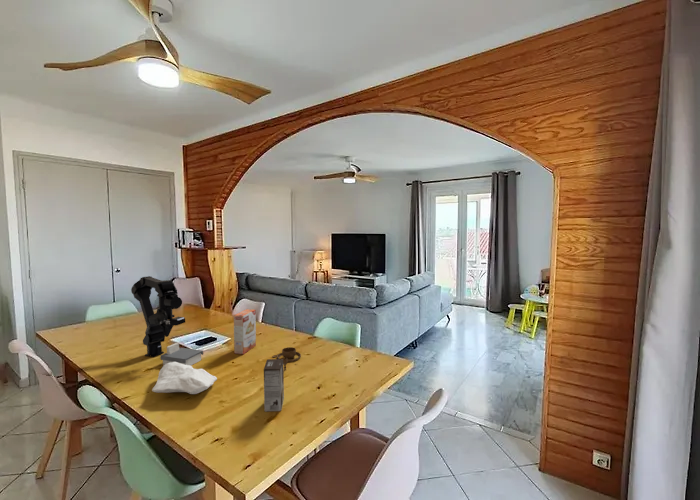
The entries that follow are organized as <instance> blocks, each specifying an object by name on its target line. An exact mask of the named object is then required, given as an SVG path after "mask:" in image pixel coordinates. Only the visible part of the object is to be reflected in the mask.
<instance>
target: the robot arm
mask: <svg viewBox="0 0 700 500" xmlns="http://www.w3.org/2000/svg"><path fill="white" fill-rule="evenodd" d="M152 289H154V292H156V293H157V294H156V297H158V308H157V309H156V313H155V312H154V308H153V306H152V305H153V304H152V302H151V298H150V297H151V294H152ZM130 290H131V293H132V295H133V297H134V299H136V301H137V302H139V304H140V305H139V306H140V308H141V312H142V314H143V317H144V318H143V319H144V321H145V325H146V329H145V331H144V333H145V336H144V337H143V338H142V344H143V345H144V346H146V353H145V354H144V356H145V357H150V358H151V357H153V358H155V357H157V356H159V355H160V356H161V355H163V354H165V351H163V348H162V343H163V342H165V341H166V340H165V339H166V337H167V338H168V337H169V336H170V334H171V331H172V329H173V327H174V326H175V327H176V326H180V325H181V324H185V323H186V318H185V317H183V316H176V317H175V314H173V310H177V309H180V308H181V306H182V304H183V300H182V298H180V297H179V294H178V289H177V288H176V286H175V283H174V282H173V280H169V279H167V280H160V279H158V278H155V277H152V276H149V275H148V276H142V277H140V278H139V280H138V281H136V282H134V283H133V285H132V287H131V289H130Z"/></svg>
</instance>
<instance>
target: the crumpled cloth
mask: <svg viewBox="0 0 700 500" xmlns="http://www.w3.org/2000/svg"><path fill="white" fill-rule="evenodd" d="M217 380H218V378H217V376H215V375H212V374H210V373H209V372H208V371H206V370H205V369H204V368H194V367H193V365H191V366H190V365H184V364H181V363H178V362H171V363H167V364H165V365H163V366H162V367H161V369H160V370H159V372H158V377H157V381H156V383H155V385H154V386H153V387H152V388H151V391H152V392H154V393H159V394H160V393H163V394H164V393H165V394H166V393H167V394H169V393H188V394H190V395H197V394H199V393H201V392H204V391H206V390H207V389H209V388H210V387H211V386H213V385H214V383H215V382H216V381H217Z"/></svg>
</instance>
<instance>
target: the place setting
mask: <svg viewBox="0 0 700 500" xmlns="http://www.w3.org/2000/svg"><path fill="white" fill-rule="evenodd" d="M295 356H297V357H296V358H294V357H295ZM276 357H277V358H276ZM281 357H283V358H282V359H283V371H287V365H288V363H292V362H297V361H298V360H300V359H301V357H302V354H301V353H300V352H298V351H297V348H296V347H293V346H292V347H291V346H290V347H288V346H287V347H284V348H282V350H281V352H280V353H278V354H275V355H272V358H276V359H281ZM293 358H294V359H293Z"/></svg>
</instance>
